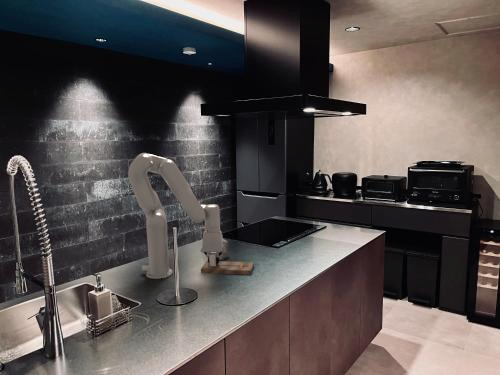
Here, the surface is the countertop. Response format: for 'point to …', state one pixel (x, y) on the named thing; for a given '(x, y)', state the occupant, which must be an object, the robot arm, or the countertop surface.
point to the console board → (229, 268)
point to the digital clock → (226, 254)
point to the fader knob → (212, 259)
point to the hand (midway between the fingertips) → (213, 263)
